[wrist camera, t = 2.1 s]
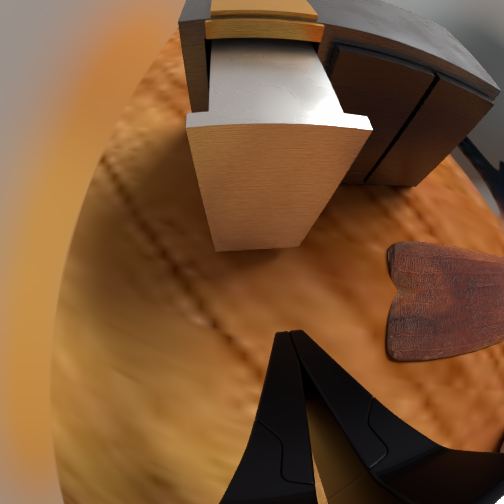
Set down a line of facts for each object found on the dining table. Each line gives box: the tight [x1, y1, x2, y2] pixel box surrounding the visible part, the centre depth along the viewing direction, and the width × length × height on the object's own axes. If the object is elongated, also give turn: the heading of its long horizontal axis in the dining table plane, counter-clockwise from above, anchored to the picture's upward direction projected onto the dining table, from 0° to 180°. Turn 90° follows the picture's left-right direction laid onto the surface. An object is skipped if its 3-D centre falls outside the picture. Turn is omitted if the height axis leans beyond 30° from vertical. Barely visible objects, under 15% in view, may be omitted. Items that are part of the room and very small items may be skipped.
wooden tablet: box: [386, 241, 504, 361], centre depth 19 cm, size 27×10×2 cm, turn 86°
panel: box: [186, 38, 373, 252], centre depth 14 cm, size 8×6×12 cm
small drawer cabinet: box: [178, 0, 501, 187], centre depth 16 cm, size 9×19×14 cm, turn 95°
